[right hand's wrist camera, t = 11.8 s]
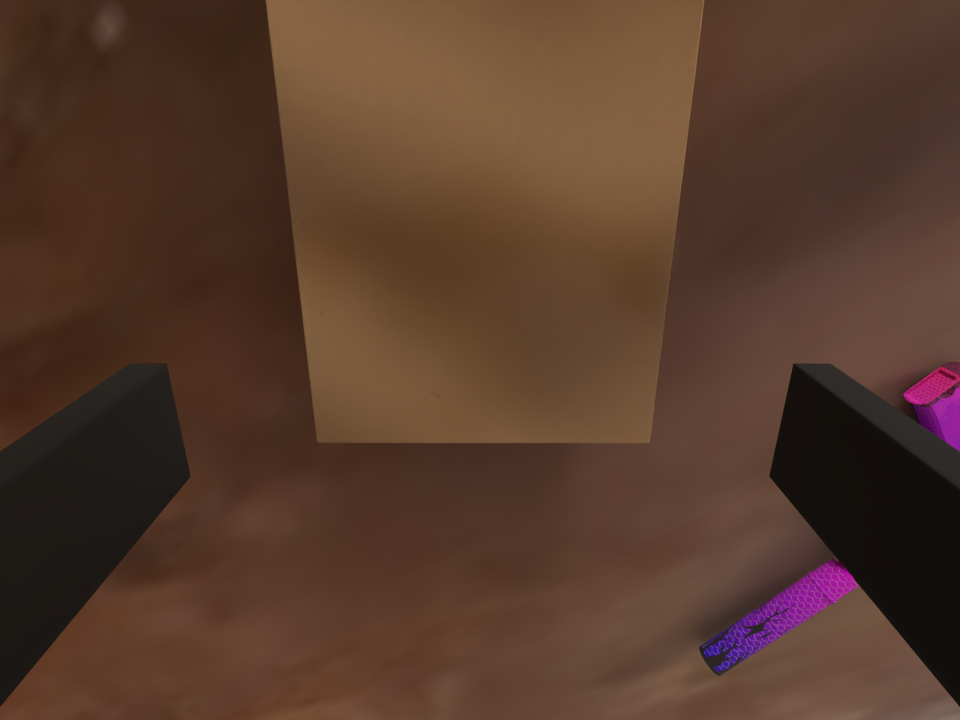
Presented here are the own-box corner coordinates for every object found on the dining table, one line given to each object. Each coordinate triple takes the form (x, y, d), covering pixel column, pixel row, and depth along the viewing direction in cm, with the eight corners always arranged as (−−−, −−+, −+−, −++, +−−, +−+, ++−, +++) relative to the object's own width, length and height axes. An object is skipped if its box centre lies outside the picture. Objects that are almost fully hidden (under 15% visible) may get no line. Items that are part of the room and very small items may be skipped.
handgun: (948, 355, 29) (978, 369, 28) (1024, 449, 31) (1058, 468, 29) (635, 589, 35) (643, 614, 33) (716, 657, 37) (728, 684, 35)
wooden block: (347, 35, 24) (262, -25, 15) (617, 35, 24) (708, -25, 15) (370, 339, 29) (316, 443, 20) (594, 340, 29) (650, 444, 20)
